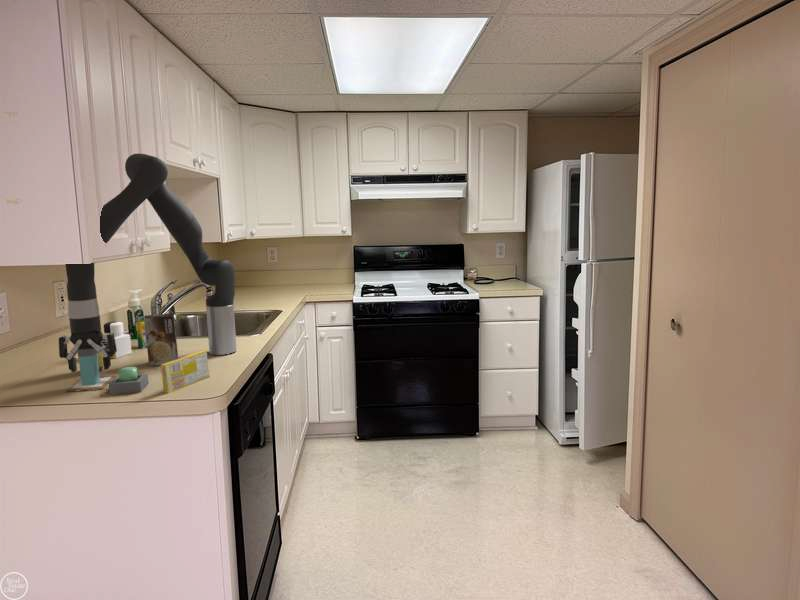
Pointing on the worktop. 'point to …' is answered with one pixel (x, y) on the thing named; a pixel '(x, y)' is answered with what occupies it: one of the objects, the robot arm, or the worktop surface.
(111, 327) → the medicine bottle
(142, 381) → the button housing
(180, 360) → the candy box
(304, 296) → the worktop surface
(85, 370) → the teal and grey block
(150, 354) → the coffee box
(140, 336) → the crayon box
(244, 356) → the worktop surface
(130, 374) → the button
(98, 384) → the clipboard
